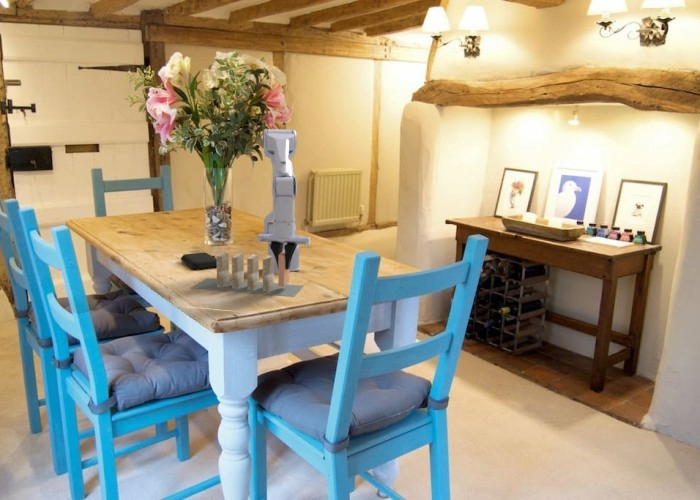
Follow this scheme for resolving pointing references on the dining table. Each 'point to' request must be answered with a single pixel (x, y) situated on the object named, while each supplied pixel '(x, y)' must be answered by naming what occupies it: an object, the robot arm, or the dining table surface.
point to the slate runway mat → (276, 290)
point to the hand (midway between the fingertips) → (283, 268)
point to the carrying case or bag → (199, 261)
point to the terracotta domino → (282, 271)
